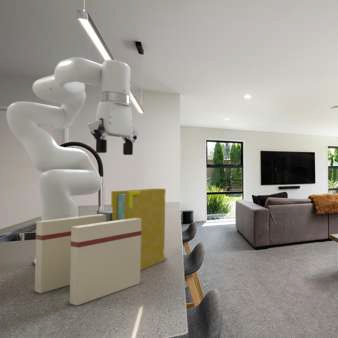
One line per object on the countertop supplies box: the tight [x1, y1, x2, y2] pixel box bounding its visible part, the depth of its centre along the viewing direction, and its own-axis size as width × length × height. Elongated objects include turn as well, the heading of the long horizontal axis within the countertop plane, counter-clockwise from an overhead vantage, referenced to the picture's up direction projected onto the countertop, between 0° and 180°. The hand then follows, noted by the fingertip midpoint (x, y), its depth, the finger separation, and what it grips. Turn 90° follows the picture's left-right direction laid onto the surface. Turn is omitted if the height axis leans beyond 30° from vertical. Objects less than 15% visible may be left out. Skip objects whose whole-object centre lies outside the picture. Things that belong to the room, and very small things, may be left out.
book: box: [110, 188, 166, 271], centre depth 95 cm, size 17×7×25 cm, turn 168°
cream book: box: [34, 213, 106, 294], centre depth 80 cm, size 3×15×18 cm, turn 156°
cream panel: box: [69, 218, 141, 306], centre depth 74 cm, size 3×15×18 cm, turn 156°
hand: (115, 153), depth 92 cm, fingers open, 9 cm apart
